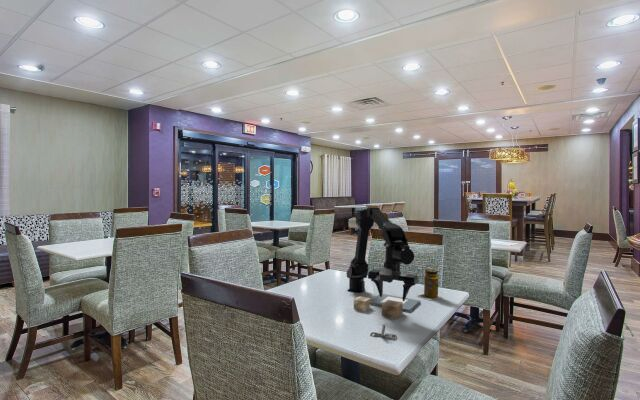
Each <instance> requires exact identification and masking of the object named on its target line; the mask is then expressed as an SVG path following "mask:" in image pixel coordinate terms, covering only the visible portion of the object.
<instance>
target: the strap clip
mask: <svg viewBox="0 0 640 400" xmlns="http://www.w3.org/2000/svg"><path fill="white" fill-rule="evenodd" d="M381 326H382V328H381V333H380V332H373V331H372V332H371V333H370V334H369V335H370V337H374V338H379V337H381V338H384V339H385V338H386V339H385V340H391V339H393V340H392V341H396V340H397V338H398V335H396V334H393V333H387V332H386V333H385V330H386V323H382V324H381ZM374 333H375V334H374ZM393 336H394V337H393ZM395 339H396V340H395Z"/></svg>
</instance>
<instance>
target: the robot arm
mask: <svg viewBox="0 0 640 400" xmlns="http://www.w3.org/2000/svg"><path fill="white" fill-rule="evenodd" d="M355 223H356V226H357V228H358V229H357V238H356V246H355V252H354V253H355V255H354V257H353V258H352V259H351V261H350V263H349V267H348V269H347V271H346V274H345V275H346V278H348V279H349V280H348V281H349V285H348V287H349V288H348V289H347V292H353V293H359V294H360V293H362V292H364V291H366V288H365V287H366V281H365V279H367V278H368V279H370V281H371V282H373V283H374V284H375V286H376V288H377V291H378V295H380V297H382V294H384V293H383V292H384V291H383V289H384V282H385V283H386V282H387V283H388V284H390V283H392V282H393V281H394V280H395V281H401V282H403V285H402V287H403V289H402V297H403V301H405V298H407V296H408V294H409V291H410V289H411V287H414V286H415V285H417V284H418V283H419V276H418V275H416V274H410V273H407V274H406V275H402V271H401V265H402V264H403V265H405V266H406V265H410V264H412V263H413V261H414V260H415V253H414V251H413V250H412V249H410V248H411V247H410V245H409V242H408V239H407V237H406V233H405V232H404V230H403V228H402V227H401V226H400V225H398V224H396V223H393V222H391V220H390V219H388V217H387V216H386V215H385V214H384V213H383V212H382V211H381V208H380V207H378V206H370V207H367V208H366V209H362V210H358V211H357V212H356V213H355ZM374 223H375V224H376V226H377V227H378V228H379V229H380V230H381V237H382V239H383V240H384V243H383V245H382V246H384V247H385V255H384V257H385V261H384V263H383V267H382V268H381V269H377V268H374V269H372V270H369V264H368V263H367V261H366V255H367V249H368V248H367V247H368V242H369V241H368V240H369V232H370V231H371V229H372V228H373V226H374Z"/></svg>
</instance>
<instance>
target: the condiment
mask: <svg viewBox="0 0 640 400" xmlns="http://www.w3.org/2000/svg"><path fill="white" fill-rule="evenodd" d="M438 274H439V273H438V270H436V269H426V270H425V275H424V282H423V285H424V286H423V288H424V289H423V293H422V294H418V295H416V296H417V297H420V298H422V299H424V300H428V301H432V300H437V299H440V298H442V296H440V295H439V277H438Z"/></svg>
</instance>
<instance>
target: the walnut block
mask: <svg viewBox="0 0 640 400" xmlns="http://www.w3.org/2000/svg"><path fill="white" fill-rule="evenodd" d="M403 312H404V311H403V302H398V301H392V300H387V301H386V302H385V303H383V304H382V307H381V316H382V317H386V318H391V319H396V320H397V319H398V318H399V317H400V316H401V315H402V314H403Z"/></svg>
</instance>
